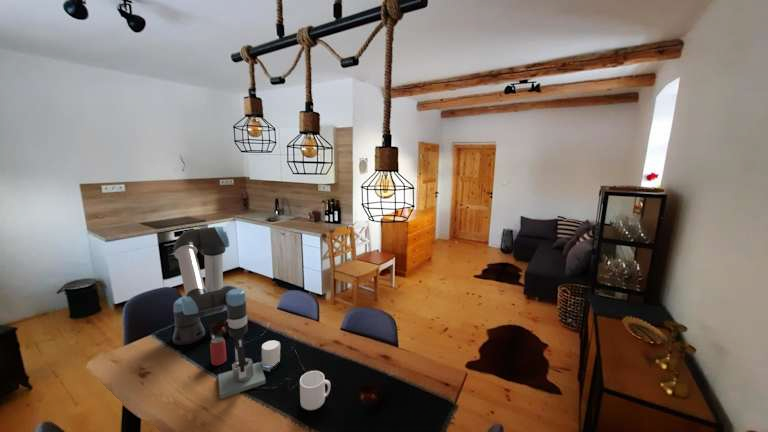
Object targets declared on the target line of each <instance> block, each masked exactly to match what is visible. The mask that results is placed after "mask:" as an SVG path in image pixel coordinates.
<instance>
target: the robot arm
mask: <svg viewBox="0 0 768 432" xmlns="http://www.w3.org/2000/svg"><path fill="white" fill-rule="evenodd" d="M229 247H230V240H229V236H228V233H227V230H226V229H225V227H223V226H212V227H203V228H201V227H200V228H193V229H188V230H186V231H184V232H182V234H180V235H179V237H178V238H177V239H176V241H175V243H174V246H173V253H174V254H173V255H174V257H175V259H177V261H178V266H179V270H180V275H181V278H182V279H181V280H182V284H183V288H184V293H185V295H183V296H181V297H179V298H178V299H177V300H175V301H174V302H173V311H172V312H173V315H174V325H175V326H174V327H175V328H174V332H173V335H172V343H174V344H175V345H178V346H183V345H184V346H185V345H190V344H193V343H196V342H198V341H200V340H201V339H203V338H204V336H205V335H206V330H205V328H204V325H203V323H202V322H201V318H203V317H207V316H211V315H214V314H218V313H222V312H225V311H226V312H227V313H226V314H227V319H226V322H227V325H228V328H227V329H228V335H229V336H230V337H232V339H233V343H234V352H235V353H234V354H235V361H237V360H238V362H239V364H238V365H237V366H238V369H239V379H240V378H243V377H246V366H245V365H246V362H245V358H246V356H245V355H246V353H245V337H244V335H245V334H247V332H248V331H249V329H248V327H249V326H248V313H247V296H246V295H247V294H246V291H245V290H244V289H243V288H237V287H236V286H235V285H233V284H225V285H224V275H223V274H224V273H223V272H224V270H223V269H224V267H223V263H224V262H223V254H224V253H226V248H229ZM198 252H200V253H201V255H203V256H204V257H203V258H204V259H203V260H204V278H205V283H204V279H203V275H202V272H201V268H200V267H201V266H200V264H199V260H198V257H197V254H198Z"/></svg>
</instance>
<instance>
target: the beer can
mask: <svg viewBox="0 0 768 432" xmlns="http://www.w3.org/2000/svg"><path fill="white" fill-rule="evenodd" d="M226 347H227V346H226V341H225V339H224V337H223V336H216V337H214V338H212V339H210V344H209V349H210V363H211V365H212V366H221V365H223V364H224V363H225V362H227V350H226V349H227V348H226Z"/></svg>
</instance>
